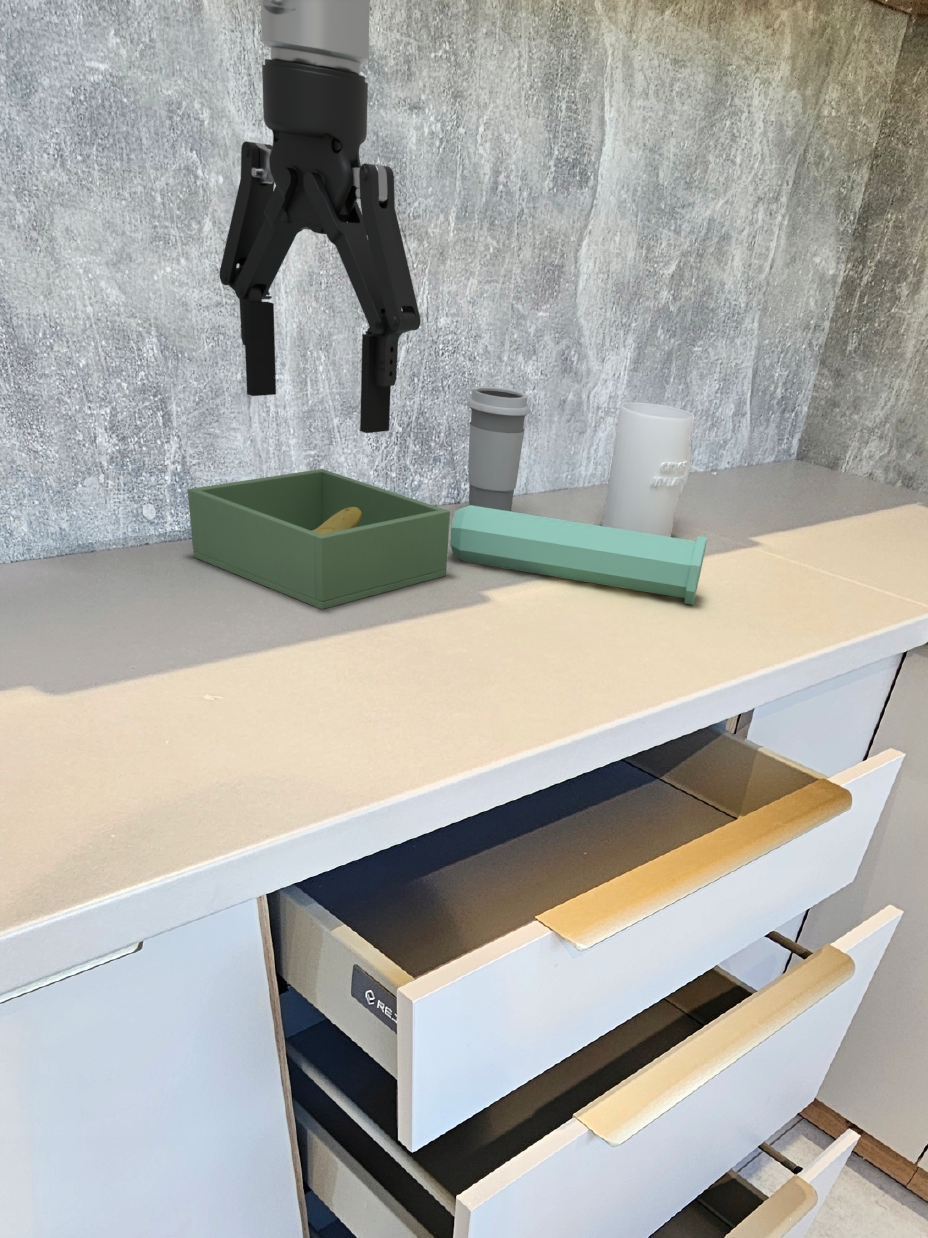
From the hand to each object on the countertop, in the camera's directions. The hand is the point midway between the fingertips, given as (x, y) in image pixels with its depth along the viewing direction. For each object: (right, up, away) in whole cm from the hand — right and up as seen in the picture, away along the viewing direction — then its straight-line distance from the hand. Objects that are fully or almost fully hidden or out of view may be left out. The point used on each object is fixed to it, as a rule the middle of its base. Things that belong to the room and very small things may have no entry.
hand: (316, 413), depth 86 cm
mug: (+33, +6, +30) cm, 44 cm away
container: (+23, -7, +14) cm, 28 cm away
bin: (-1, -9, +8) cm, 12 cm away
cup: (+14, +6, +27) cm, 31 cm away
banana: (-1, -9, +8) cm, 12 cm away
